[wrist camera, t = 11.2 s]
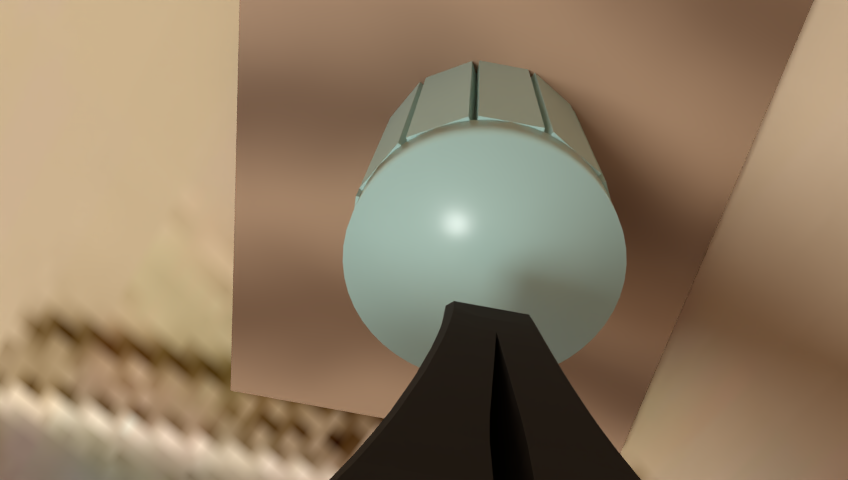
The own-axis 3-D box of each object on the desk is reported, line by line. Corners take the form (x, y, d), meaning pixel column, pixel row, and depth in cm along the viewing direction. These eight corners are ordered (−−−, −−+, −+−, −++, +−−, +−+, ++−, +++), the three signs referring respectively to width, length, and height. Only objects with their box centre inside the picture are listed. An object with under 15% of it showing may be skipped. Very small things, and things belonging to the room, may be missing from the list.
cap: (554, 266, 19) (580, 401, 14) (372, 232, 19) (330, 356, 14) (609, 84, 17) (668, 167, 11) (398, 45, 17) (358, 109, 11)
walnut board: (612, 439, 24) (616, 460, 23) (240, 372, 24) (230, 390, 23) (878, -207, 14) (904, -214, 13) (261, -321, 14) (246, -336, 13)
